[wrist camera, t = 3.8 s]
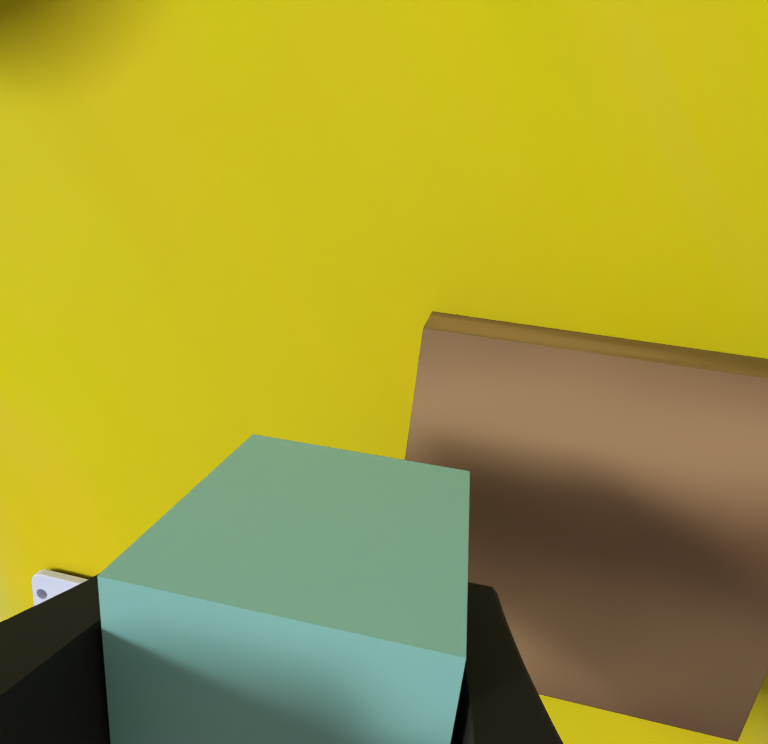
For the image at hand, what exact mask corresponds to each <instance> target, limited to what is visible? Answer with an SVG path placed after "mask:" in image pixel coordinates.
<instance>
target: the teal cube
mask: <svg viewBox="0 0 768 744" xmlns="http://www.w3.org/2000/svg"><path fill="white" fill-rule="evenodd" d="M469 491H470V471H466V470H460V469H454V468H448V467H442V466H436V465H430V464H424V463H419V462H413V461H407V460H401V459H395V458H389V457H383V456H377V455H371V454H366V453H360V452H354V451H348V450H342V449H336V448H330V447H324V446H319V445H313V444H307V443H301V442H295V441H289V440H283V439H277V438H271V437H266V436H260V435H254V434H253V435H252V436H251V437H250V438H248V439H247V440H246V441H245V442H244V443H243V444H242V445H241V446H240V447H239V448H238V449H236V450H235V451H234V452H233V453H232V454H231V455H230V456H229V457H228V458H227V459H225V460H224V461H223V462H222V463H221V464H220V465H219V466H218V467H217V468H216V469H214V470H213V471H212V472H211V473H210V474H209V475H208V476H207V477H206V478H205V479H203V480H202V481H201V482H200V483H199V484H198V485H197V486H196V487H195V488H194V489H192V490H191V491H190V492H189V493H188V494H187V495H186V496H185V497H184V498H183V499H181V500H180V501H179V502H178V503H177V504H176V505H175V506H174V507H173V508H172V509H171V510H169V511H168V512H167V513H166V514H165V515H164V516H163V517H162V518H161V519H160V520H158V521H157V522H156V523H155V524H154V525H153V526H152V527H151V528H150V529H149V530H147V531H146V532H145V533H144V534H143V535H142V536H141V537H140V538H139V539H138V540H136V541H135V542H134V543H133V544H132V545H131V546H130V547H129V548H128V549H127V550H125V551H124V552H123V553H122V554H121V555H120V556H119V557H118V558H117V559H116V560H114V561H113V562H112V563H111V564H110V565H109V566H108V567H107V568H106V569H105V570H104V571H102V572H101V573H100V574H99V575H98V576H97V578H98V591H99V603H100V616H101V629H102V641H103V654H104V666H105V679H106V691H107V704H108V717H109V729H110V742H111V744H450V743H451V738H452V732H453V727H454V721H455V716H456V711H457V705H458V700H459V694H460V689H461V684H462V678H463V673H464V667H465V662H466V643H467V592H468V542H469Z"/></svg>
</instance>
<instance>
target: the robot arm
mask: <svg viewBox="0 0 768 744" xmlns="http://www.w3.org/2000/svg"><path fill="white" fill-rule="evenodd" d="M98 575H99V574H98ZM98 575H96V576H94V577H92V578H90V579H84V578H80V577H76V576H71V575H67V574H63V573H59V572H55V571H50V570H44V569H43V570H40V571H39V572H37V573H36V574H35V575H34V576H33V577H32V590H33V599H34V607H31V608H29V609H27V610H25V611H23V612H21V613H19V614H17V615H15V616H13V617H11V618H9V619H7V620H4V621H2V622H0V744H111V742H110V729H109V717H108V704H107V691H106V679H105V666H104V654H103V641H102V629H101V616H100V603H99V591H98V578H97V576H98ZM450 744H563V742H562V740H561V738H560V737H559V735H558V733H557V731H556V729H555V727H554V725H553V723H552V721H551V719H550V717H549V715H548V713H547V711H546V709H545V707H544V705H543V703H542V701H541V699H540V697H539V694H538V692H537V690H536V688H535V686H534V684H533V682H532V680H531V677H530V675H529V673H528V671H527V669H526V667H525V664H524V662H523V660H522V658H521V655H520V653H519V651H518V648H517V646H516V643H515V641H514V638H513V636H512V633H511V631H510V628H509V626H508V623H507V621H506V618H505V615H504V612H503V609H502V606H501V603H500V600H499V597H498V594H497V592H496V591H495V590H494V588H493V587H491V586H486V585H481V584H476V583H471V582H468V592H467V643H466V662H465V667H464V673H463V678H462V684H461V689H460V694H459V700H458V705H457V711H456V716H455V721H454V727H453V732H452V738H451V743H450Z"/></svg>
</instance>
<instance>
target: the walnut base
mask: <svg viewBox="0 0 768 744" xmlns="http://www.w3.org/2000/svg"><path fill="white" fill-rule="evenodd" d="M405 460H407V461H413V462H419V463H424V464H430V465H436V466H442V467H448V468H454V469H460V470H466V471H470V491H469V542H468V582H471V583H476V584H481V585H486V586H491V587H493V588H494V590H495V591H496V592H497V594H498V597H499V600H500V603H501V606H502V609H503V612H504V615H505V618H506V621H507V623H508V626H509V628H510V631H511V633H512V636H513V638H514V641H515V643H516V646H517V648H518V651H519V653H520V655H521V658H522V660H523V662H524V664H525V667H526V669H527V671H528V673H529V675H530V677H531V680H532V682H533V684H534V686H535V688H536V690H537V692H538V694H540V695H544V696H549V697H553V698H557V699H561V700H565V701H570V702H574V703H578V704H582V705H586V706H591V707H595V708H599V709H603V710H607V711H611V712H616V713H620V714H624V715H628V716H632V717H637V718H641V719H645V720H649V721H653V722H657V723H662V724H666V725H670V726H674V727H678V728H683V729H687V730H691V731H695V732H699V733H703V734H708V735H712V736H716V737H720V738H724V739H729V740H733V741H737V742H738V739H739V737H740V735H741V732H742V730H743V728H744V725H745V723H746V721H747V718H748V716H749V714H750V711H751V709H752V707H753V704H754V702H755V700H756V697H757V695H758V693H759V690H760V688H761V686H762V683H763V681H764V679H765V676H766V674H767V672H768V359H764V358H757V357H750V356H743V355H735V354H728V353H721V352H714V351H707V350H700V349H693V348H686V347H679V346H672V345H665V344H658V343H651V342H644V341H637V340H630V339H623V338H616V337H609V336H602V335H594V334H587V333H580V332H573V331H566V330H559V329H552V328H545V327H538V326H531V325H524V324H517V323H510V322H503V321H496V320H489V319H482V318H475V317H468V316H461V315H453V314H446V313H439V312H432V313H431V315H430V317H429V319H428V320H427V322H426V324H425V326H424V328H423V334H422V341H421V348H420V355H419V362H418V370H417V377H416V384H415V391H414V398H413V406H412V413H411V420H410V427H409V434H408V441H407V449H406V456H405Z"/></svg>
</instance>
